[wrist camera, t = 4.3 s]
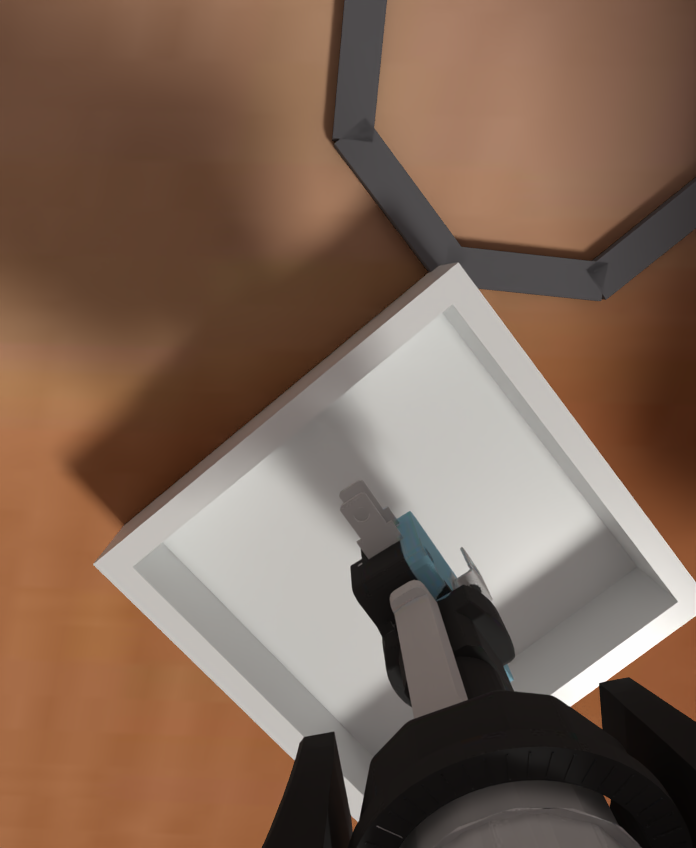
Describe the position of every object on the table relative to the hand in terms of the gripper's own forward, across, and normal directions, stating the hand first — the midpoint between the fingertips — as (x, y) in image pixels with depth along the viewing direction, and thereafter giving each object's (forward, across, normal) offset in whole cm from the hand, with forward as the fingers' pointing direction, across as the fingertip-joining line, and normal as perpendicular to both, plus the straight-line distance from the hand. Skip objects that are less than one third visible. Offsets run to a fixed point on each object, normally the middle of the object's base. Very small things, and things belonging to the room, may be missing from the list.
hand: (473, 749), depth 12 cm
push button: (+6, 0, -1) cm, 6 cm away
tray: (+10, 0, 0) cm, 10 cm away
